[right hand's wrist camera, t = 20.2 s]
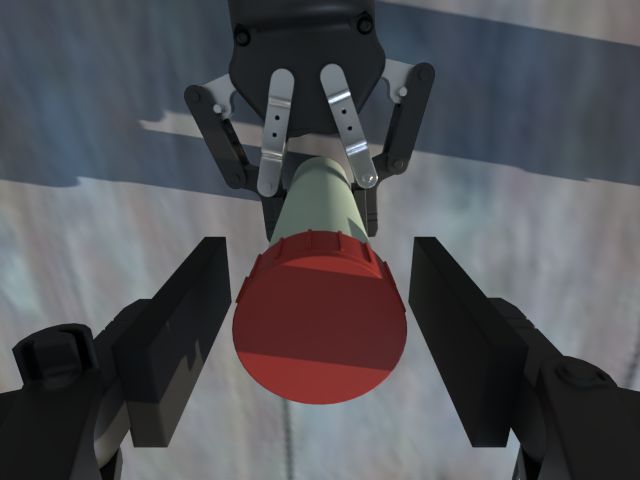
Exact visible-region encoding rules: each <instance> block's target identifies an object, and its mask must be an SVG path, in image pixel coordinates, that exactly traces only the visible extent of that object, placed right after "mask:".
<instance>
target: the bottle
mask: <svg viewBox="0 0 640 480" xmlns="http://www.w3.org/2000/svg"><path fill="white" fill-rule="evenodd" d="M308 229H312V231H332V232H338V230H339V231H342V234H345V235H348V236H350V237H353V238H355V239H357V240H359V241H361V242H362V243H365V242H367V243H368V244H369V247H370V248H371V245H370V243H369V240H368V237H367V234H366V231H365V228H364V226H363V223H362V220H361V217H360V214H359V211H358V209H357V206H356V203H355V200H354V197H353V194H352V192H351V189H350V186H349V183H348V180H347V178H346V175H345V172H344V170H343V169H342V167H341V166H340V165H339V164H338V163H337V162H335V161H334V160H332V159H330V158H327V157H313V158H310V159H308V160H306V161H304V162H303V163H302V164H301V165H300V166H299V167H298V168H297V170H296V172H295V174H294V177H293V180H292V182H291V185H290V188H289V191H288V194H287V196H286V199H285V202H284V205H283V208H282V210H281V213H280V216H279V219H278V222H277V224H276V227H275V230H274V233H273V235H272V238H271V241H270V244H269V247H268V249H269V248H270V247H271V246H273V245H274V244H275V243H277V242H279V239H280V238H281V237H283V238H286V237H289V236H292V235H294V234H298V233H302V232H307V231H308ZM268 249H267V250H268ZM371 249H372V248H371Z"/></svg>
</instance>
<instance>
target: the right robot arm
mask: <svg viewBox="0 0 640 480" xmlns="http://www.w3.org/2000/svg"><path fill="white" fill-rule="evenodd" d="M231 302H232V301H231V290H230V279H229V268H228V258H227V247H226V237H204V239H203V240H202V241H201V242H200V243H199V244H198V246H197V247H196V248H195V249H194V250H193V251H192V253H191V254H190V255H189V256H188V257H187V258H186V260H185V261H184V262H183V263H182V264H181V265H180V267H179V268H178V269H177V270H176V271H175V272H174V273H173V275H172V276H171V277H170V278H169V279H168V280H167V282H166V283H165V284H164V285H163V286H162V287H161V289H160V290H159V291H158V292H157V293H156V294H155V296H154V297H153V298H152V299H139V300H137V301H135V302H133V303H132V304H130V305H128V306H127V307H125V308H123V310H122V311H121V312H120V313H119V314H118V315H117V316H116V317H115V318H114V321H111V322H110V323H109V324H108V325H107V326H106V327H105V330H102V331H101V333H100V334H99V335H98V336H97V337H96V338H95V339H94V340H93V336H92V332H91V329H90V328H89V327H87V326H86V325H83V324H77V323H72V324H61V325H57V326H53V327H49V328H45V329H43V330H40V331H38V332H35V333H33V334H31V335H29V336H28V337H26V338H24V339H23V340H21V341H20V342H19V343H18V344H17V345H16V346H15V347H14V348H13V349H12V351H13V354H14V357H15V360H16V363H17V366H18V369H19V372H20V374H21V377H22V380H23V383H24V385H23V387H22V389H20V390H15V391H10V392H5V393H0V480H120V478H121V471H122V464H123V459H122V452H121V448H120V444H121V442H122V441H123V439H124V437H125V435H126V434H127V432H128V430H129V429H130V432H131V437H132V441H133V445H134V447H168V445H169V442H170V440H171V438H172V436H173V433H174V431H175V429H176V427H177V424H178V422H179V420H180V418H181V415H182V413H183V411H184V409H185V406H186V404H187V402H188V400H189V397H190V395H191V393H192V391H193V388H194V386H195V384H196V382H197V379H198V377H199V375H200V372H201V370H202V368H203V366H204V363H205V361H206V359H207V357H208V354H209V352H210V350H211V348H212V345H213V343H214V341H215V339H216V336H217V334H218V332H219V330H220V327H221V325H222V323H223V321H224V318H225V316H226V314H227V312H228V309H229V307H230V305H231ZM408 302H409V305H410V307H411V309H412V312H413V314H414V316H415V318H416V321H417V323H418V325H419V327H420V330H421V332H422V334H423V336H424V339H425V341H426V343H427V345H428V348H429V350H430V352H431V354H432V357H433V359H434V361H435V363H436V366H437V368H438V370H439V372H440V375H441V377H442V379H443V382H444V384H445V386H446V388H447V391H448V393H449V395H450V397H451V400H452V402H453V404H454V406H455V409H456V411H457V413H458V415H459V418H460V420H461V422H462V424H463V427H464V429H465V431H466V433H467V436H468V438H469V440H470V442H471V445H472V447H506V445H507V441H508V437H509V432H510V428H512V430H513V432H514V433H515V435H516V437H517V438H518V440H519V442H520V448H519V452H518V456H517V460H516V464H515V468H514V472H513V476H512V480H519V478H520V480H640V392H639V391H634V390H629V389H624V388H620V387H618V386H617V384H616V383H615V382H614V381H613V379H612V378H611V377H610V376H609V375H608V374H607V373H605V372H604V371H603V370H601V369H600V368H598V367H597V366H595V365H592V364H590V363H588V362H586V361H584V360H581V359H577V358H574V357H570V356H563V355H562V354H561V353H560V352H559V351H558V349H557V348H556V347H555V346H554V345H553V344H552V343H551V342H550V341H549V340H548V339H547V338H546V337H545V336H544V335H543V334H542V333H541V332H540V331H539V330H538V329H535V326H534V325H533V324H532V322H531V321H530V320H529V319H527V317H526V316H525V315H524V314H523V313H522V312H521V311H520V310H519V309H518V308H517V307H516V306H514V305H512V304H511V303H509V302H507V301H505V300H504V299H502V298H487V297H486V296H485V294H484V293H483V292H482V291H481V290H480V289H479V287H478V286H477V285H476V284H475V283H474V282H473V280H472V279H471V278H470V277H469V276H468V275H467V273H466V272H465V271H464V270H463V269H462V268H461V267H460V265H459V264H458V263H457V262H456V261H455V260H454V258H453V257H452V256H451V255H450V254H449V253H448V251H447V250H446V249H445V248H444V247H443V246H442V244H441V243H440V242H439V241H438V240H437V239H436V237H414V247H413V258H412V268H411V279H410V290H409V301H408Z"/></svg>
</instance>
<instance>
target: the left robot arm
mask: <svg viewBox="0 0 640 480" xmlns="http://www.w3.org/2000/svg"><path fill="white" fill-rule="evenodd" d="M228 5H229V12H230V19H231V25H232V32H233V39H234V51H233V56H232V60H231V62H230V65H229V73H228V74H226V75H224V76H222V77H219V78H217V79H215V80H213V81H211V82H209V83H207V84H204V85H191V86H189V87H188V88H187V89H186V90H185V93H184V98H185V101H186V103H187V105H188V107H189V109H190V111H191V113H192V115H193V117H194V119H195V121H196V123H197V125H198V127H199V129H200V131H201V133H202V135H203V137H204V139H205V141H206V143H207V145H208V147H209V149H210V151H211V153H212V155H213V157H214V159H215V161H216V163H217V165H218V167H219V169H220V171H221V173H222V175H223V177H224V179H225V181H226V183H227V185H228V186H229V187H231V188H233V189H239V188H244V189H248V190H251V191H254V192H256V193H257V194H258V195H259V196H260V198H261V200H262V207H263V214H264V221H265V228H266V235H267V239H268V241H269V242H270V241H271V238H272V235H273V233H274V230H275V227H276V224H277V222H278V219H279V216H280V213H281V210H282V208H283V205H284V202H285V199H286V196H287V189H283V185H282V175H283V169H284V164H285V158H286V153H287V149H288V143H289V138H290V137H299V136H302V135H305V134H307V133H310V132H318V133H323V134H334V133H339V136H340V139H341V141H342V144H343V147H344V149H345V152H346V155H347V158H348V160H349V163H350V166H351V169H352V171H353V174H354V183H351V191H352V194H353V197H354V200H355V203H356V206H357V209H358V211H359V214H360V217H361V220H362V223H363V226H364V228H365V231H366V234H367V237H374V236H375V235H376V233H377V230H378V214H377V187H378V185H379V183H380V182H381V181H382V180H384V179H386V178H388V177H390V176H392V175H394V174H396V175H399V174H402V173H404V172H405V171H406V169H407V167H408V164H409V161H410V158H411V154H412V151H413V148H414V144H415V141H416V138H417V134H418V131H419V128H420V124H421V121H422V118H423V114H424V111H425V108H426V104H427V101H428V98H429V94H430V91H431V88H432V84H433V81H434V77H435V70H434V68H433V66H432V65H431V64H429V63H420V64H418V65H412V64H407V63H403V62H399V61H395V60H391V59H387V58H386V57H385V53H384V50H383V48H382V47H381V45H380V43H379V41H378V39H377V36H376V31H375V19H374V0H228ZM380 78H382V79H384V80H385V82H386V84H387V97H388V99H389V100H390V101H391V102H392V103H395V107H394V111H393V114H392V118H391V122H390V125H389V129H388V133H387V136H386V140H385V144H384V147H383V151H382V153H381V154H379V155H377V156H375V157H373V158H371V156H370V153H369V150H368V147H367V142H366V139H365V136H364V133H363V130H362V127H361V124H360V121H359V118H358V114H359V112H360V111H361V109H362V107H363V106H364V104H365V102H366V101H367V99H368V97H369V96H370V94H371V92H372V91H373V89H374V87H375V86H376V84H377V82H378V81H379V79H380ZM237 91H238V92H239V93H240V95H241V96H242V97H243V98H244V99H245V100H246V101H247V103H248V104H249V105H250V106H251V107H252V108H253V109H254V111H255V112H256V113H257V114H258V115H259V116H260V117H261V119H262V120H263V121H264V122H265V127H264V134H263V141H262V148H261V162H260V167H257V166H253V165H250V163H249V161H248V158H247V156H246V154H245V152H244V150H243V148H242V146H241V144H240V141H239V139H238V137H237V135H236V133H235V131H234V129H233V127H232V124H231V122H230V120H229V118H231V117H232V116H233V114H234V112H235V107H234V103H233V97H234V95H235V93H236V92H237Z"/></svg>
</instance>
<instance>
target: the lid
mask: <svg viewBox="0 0 640 480" xmlns="http://www.w3.org/2000/svg"><path fill="white" fill-rule="evenodd" d="M236 303H238V305H237V307H236V310H235V313H234V318H233V326H232V333H233V342H234V346H235V350H236V352H237V355H238V357H239V359H240V361H241V363H242V365H243V366H244V368H245V369H246V370H247V372H248V373H249V374H250V375H251V376H252V377H253V378H254V380H255V381H256V382H258V383H259V384H260V385H262V386H263V387H264V388H266V389H267V390H269V391H270V392H272V393H274V394H276V395H278V396H280V397H283V398H285V399H288V400H291V401H295V402H300V403H305V404H322V405H324V404H335V403H340V402H345V401H348V400H351V399H354V398H357V397H359V396H361V395H364V394H365V393H367V392H369V391H371V390H372V389H374V388H375V387H377V386H378V385H379V384H381V383H382V382H383V381H384V380H385V379H386V378H387V377H388V376H389V375H390V373H391V372H392V371H393V370H394V368H395V367H396V365H397V364H398V362H399V360H400V358H401V356H402V353H403V351H404V347H405V343H406V337H407V321H406V316H405V312H406V309H405V307H404V304H403V302H402V299H401V297H400V295H399V292H398V290H397V287H396V284H395V281H394V279H393V276H392V274H391V272H390V269H389V267H388V264H387V263H386V261H385V262H383V261H382V260H381V259H380V257H379V256H378V255H377V254H376V253H375V252H374V251H373V250H372V249H371V248H370V247H369V244H368V243H367V242H365V243H362V242H361V241H359V240H357V239H355V238H353V237H350V236H348V235H345V234H342V231H339V230H338V232H332V231H312V229H308V231H307V232H302V233H298V234H294V235H292V236H289V237H286V238H283V237H281V238H280V239H279V242H277V243H275V244H274V245H273V246H271V247H270V248H269V249H268V250H266V251H265V252H264V253H263V254H262V255H261V254H259V255H258V257H257V259H256V262H255V264H254V267H253V268H252V270H251V273H250V275H249V277H246V278H245V280H244V283H243V285H242V287H241V290H240V292H239V294H238V297H237V299H236Z"/></svg>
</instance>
